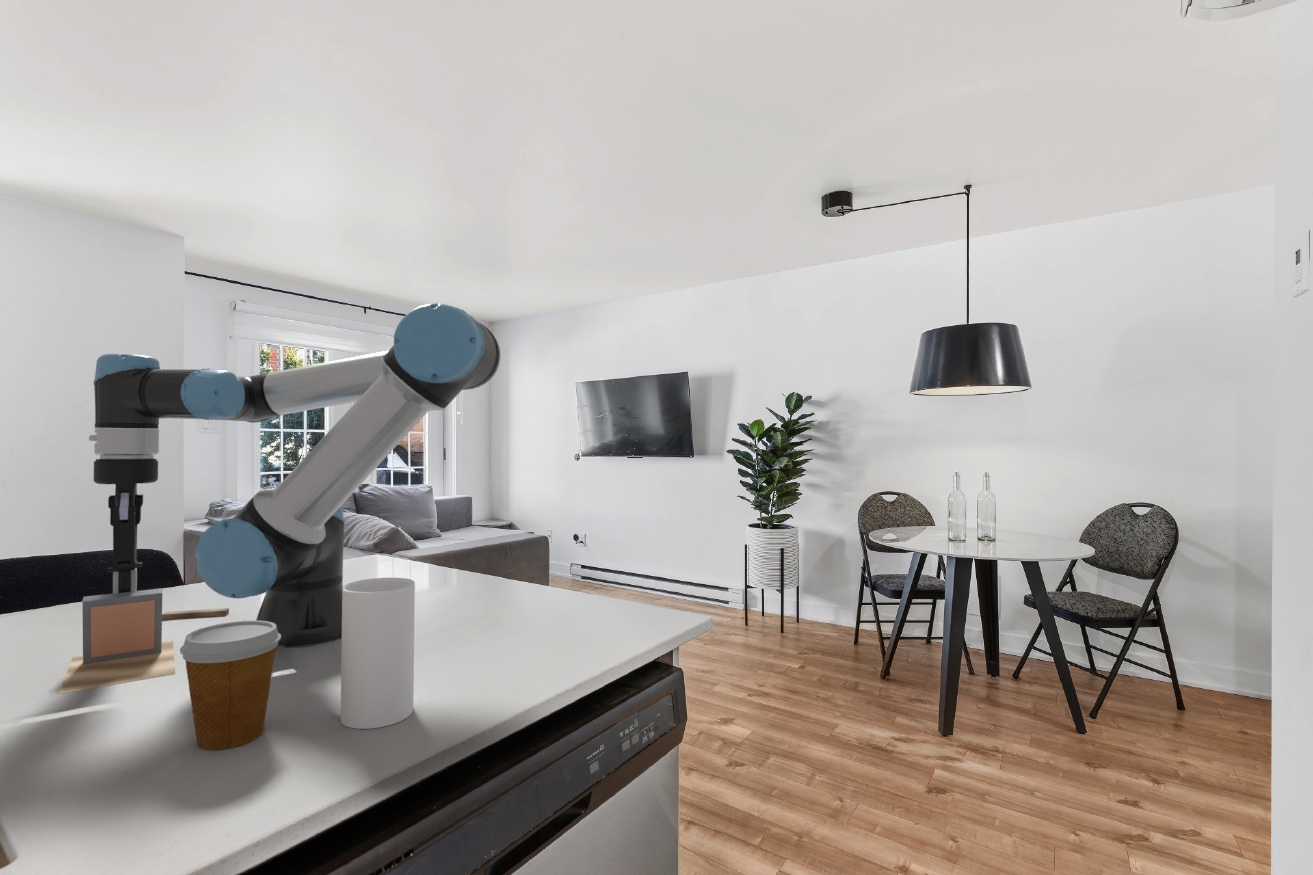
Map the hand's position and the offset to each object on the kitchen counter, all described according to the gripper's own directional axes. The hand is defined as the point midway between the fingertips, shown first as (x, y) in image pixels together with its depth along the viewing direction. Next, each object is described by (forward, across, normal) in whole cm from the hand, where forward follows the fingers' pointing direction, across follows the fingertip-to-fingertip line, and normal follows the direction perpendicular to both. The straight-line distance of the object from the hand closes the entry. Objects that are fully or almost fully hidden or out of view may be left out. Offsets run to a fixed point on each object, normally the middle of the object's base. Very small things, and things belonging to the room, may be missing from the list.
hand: (124, 612), depth 96 cm
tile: (+6, 0, 0) cm, 6 cm away
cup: (+8, +42, +26) cm, 50 cm away
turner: (+7, -22, +5) cm, 24 cm away
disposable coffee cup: (+7, +39, +11) cm, 41 cm away
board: (+7, +4, 0) cm, 8 cm away
